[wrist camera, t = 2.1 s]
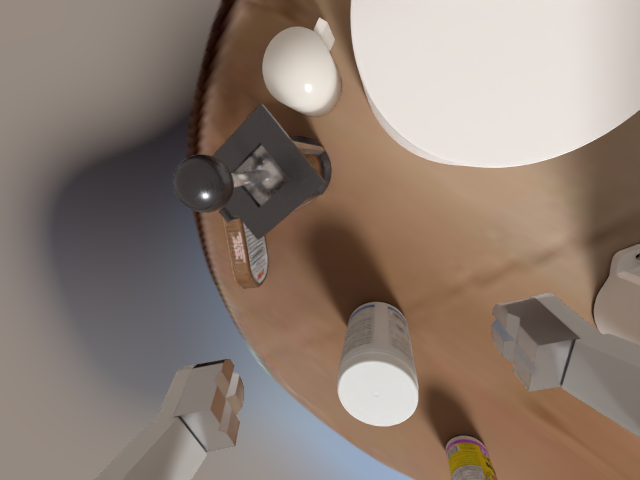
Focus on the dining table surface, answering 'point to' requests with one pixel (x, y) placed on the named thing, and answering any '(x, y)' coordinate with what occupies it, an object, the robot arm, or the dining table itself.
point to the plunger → (225, 180)
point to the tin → (246, 254)
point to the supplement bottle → (469, 459)
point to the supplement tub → (378, 366)
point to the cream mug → (303, 69)
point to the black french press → (291, 156)
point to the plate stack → (497, 75)
